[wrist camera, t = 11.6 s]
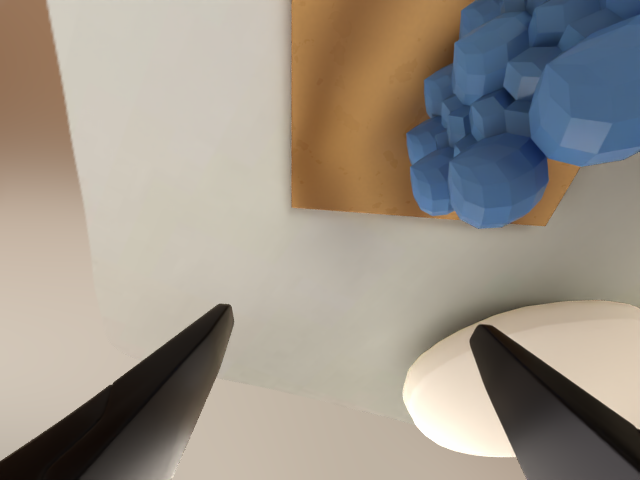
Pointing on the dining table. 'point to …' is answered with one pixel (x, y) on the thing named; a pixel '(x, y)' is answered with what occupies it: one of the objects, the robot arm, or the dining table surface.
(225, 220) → the dining table surface
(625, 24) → the grapes
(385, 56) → the bamboo board
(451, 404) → the plate
